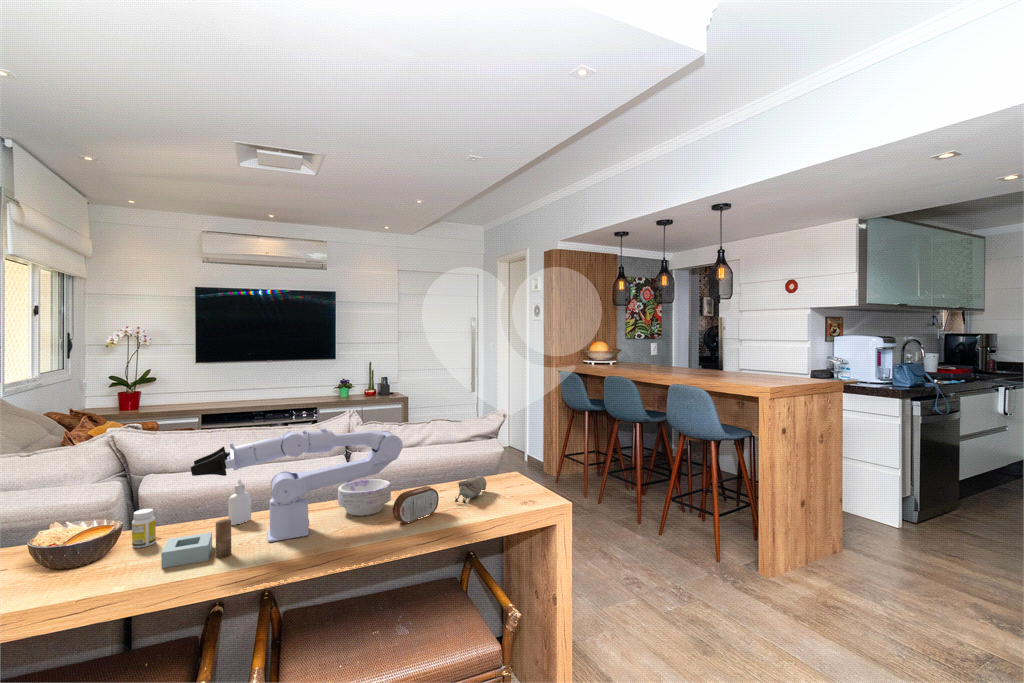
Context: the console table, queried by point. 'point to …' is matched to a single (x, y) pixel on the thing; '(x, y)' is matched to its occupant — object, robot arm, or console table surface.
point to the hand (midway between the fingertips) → (193, 468)
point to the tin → (415, 504)
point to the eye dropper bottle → (240, 505)
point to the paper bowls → (364, 496)
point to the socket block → (186, 550)
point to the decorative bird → (471, 487)
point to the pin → (223, 538)
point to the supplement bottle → (143, 528)
